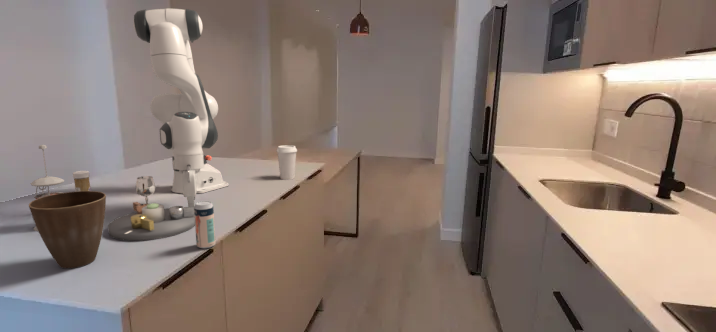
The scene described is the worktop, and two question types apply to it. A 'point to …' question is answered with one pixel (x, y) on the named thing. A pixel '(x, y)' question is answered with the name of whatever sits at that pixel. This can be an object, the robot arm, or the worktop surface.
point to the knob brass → (141, 222)
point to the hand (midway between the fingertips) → (192, 203)
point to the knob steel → (181, 212)
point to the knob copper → (138, 207)
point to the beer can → (204, 224)
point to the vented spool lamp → (45, 182)
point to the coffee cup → (287, 161)
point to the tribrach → (162, 225)
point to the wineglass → (145, 186)
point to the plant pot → (71, 225)
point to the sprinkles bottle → (81, 181)
